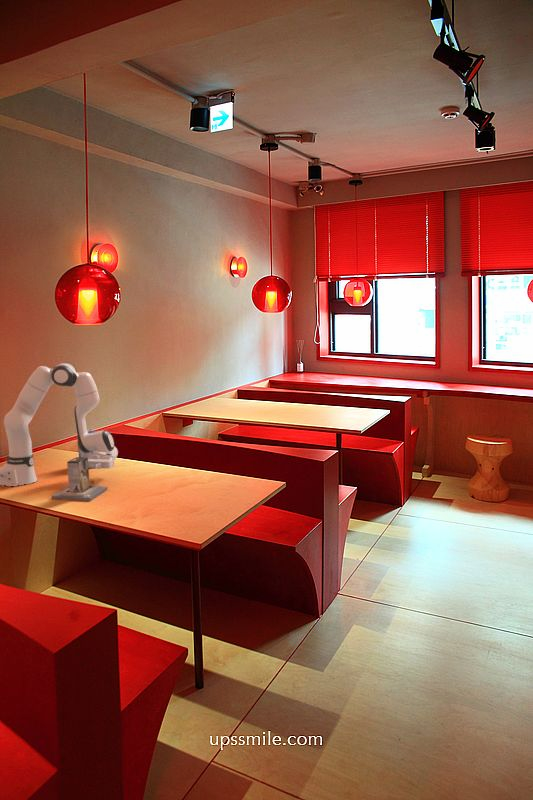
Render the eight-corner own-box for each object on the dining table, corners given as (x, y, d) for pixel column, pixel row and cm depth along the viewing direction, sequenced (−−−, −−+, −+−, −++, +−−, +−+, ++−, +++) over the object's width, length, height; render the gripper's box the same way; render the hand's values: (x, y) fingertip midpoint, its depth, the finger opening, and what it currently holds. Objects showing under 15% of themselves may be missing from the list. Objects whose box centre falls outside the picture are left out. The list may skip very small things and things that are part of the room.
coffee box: (78, 488, 304) (76, 456, 301) (90, 489, 302) (88, 457, 300) (68, 494, 295) (66, 461, 292) (81, 494, 294) (79, 462, 291)
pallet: (51, 498, 293) (51, 493, 292) (70, 487, 310) (70, 482, 310) (90, 501, 289) (90, 495, 288) (107, 489, 306) (107, 484, 306)
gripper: (79, 453, 319) (66, 459, 305) (116, 454, 315) (104, 461, 301) (80, 464, 320) (66, 472, 306) (117, 466, 316) (104, 474, 302)
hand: (85, 466), depth 304 cm, fingers open, 8 cm apart
